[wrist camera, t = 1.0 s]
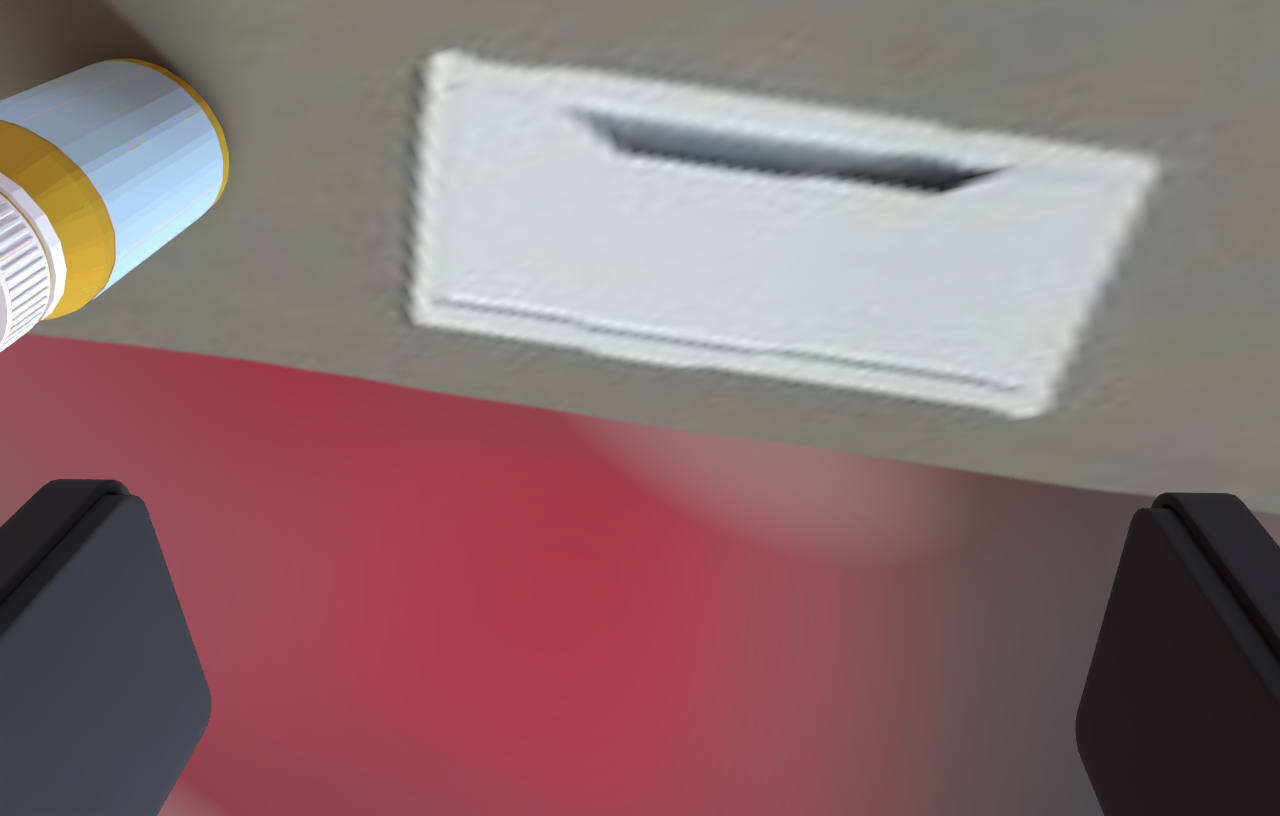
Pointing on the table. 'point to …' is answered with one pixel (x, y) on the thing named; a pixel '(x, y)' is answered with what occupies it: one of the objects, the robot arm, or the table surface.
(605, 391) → the table surface
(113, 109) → the bottle
